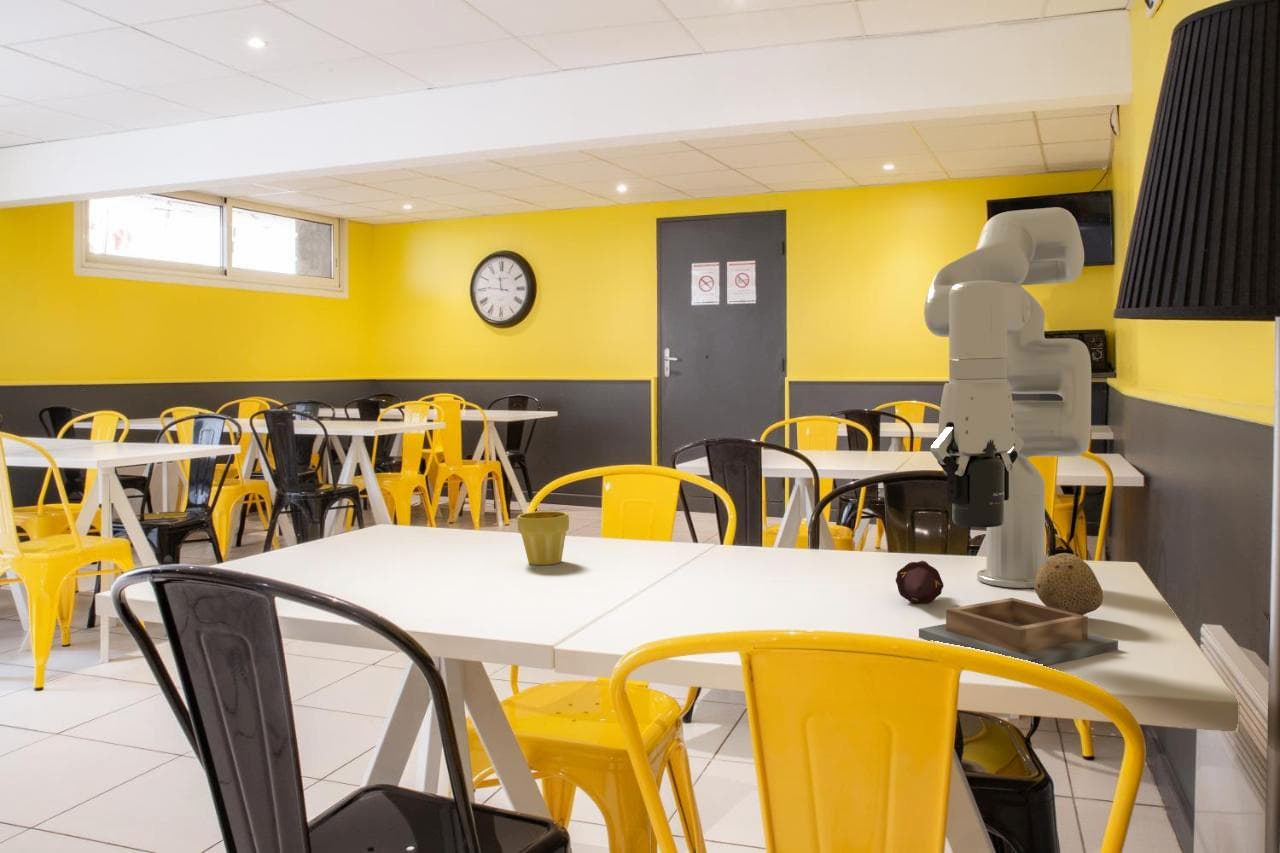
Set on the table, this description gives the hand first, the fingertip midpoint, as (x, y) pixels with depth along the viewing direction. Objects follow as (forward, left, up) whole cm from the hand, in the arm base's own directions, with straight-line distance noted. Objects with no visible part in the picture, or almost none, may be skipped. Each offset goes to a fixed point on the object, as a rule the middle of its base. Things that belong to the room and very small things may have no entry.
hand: (978, 500), depth 135 cm
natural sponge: (-19, -1, -20) cm, 27 cm away
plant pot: (+31, -85, -20) cm, 93 cm away
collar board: (-3, +4, -19) cm, 20 cm away
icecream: (-8, -20, -20) cm, 29 cm away
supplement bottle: (0, 0, -4) cm, 4 cm away
